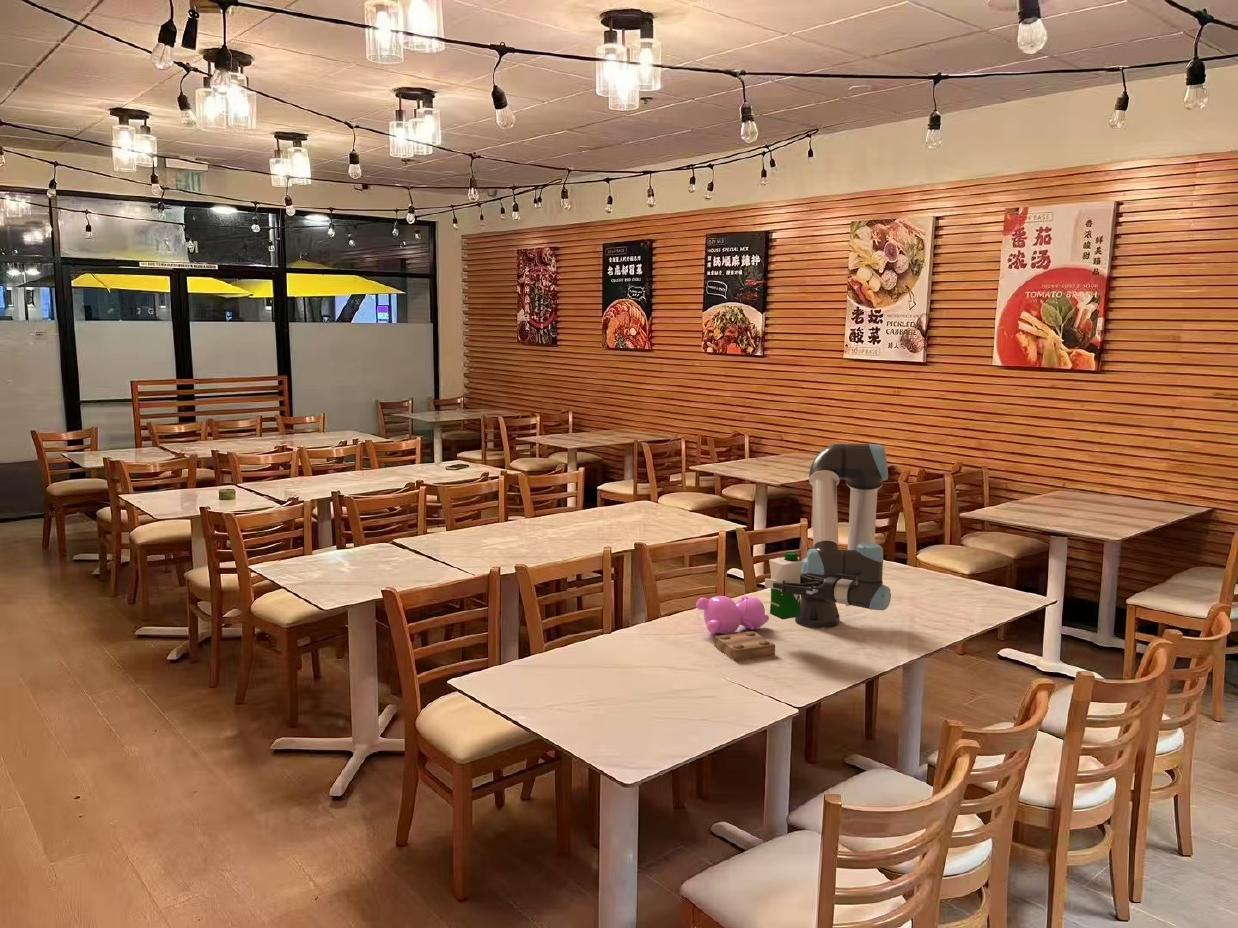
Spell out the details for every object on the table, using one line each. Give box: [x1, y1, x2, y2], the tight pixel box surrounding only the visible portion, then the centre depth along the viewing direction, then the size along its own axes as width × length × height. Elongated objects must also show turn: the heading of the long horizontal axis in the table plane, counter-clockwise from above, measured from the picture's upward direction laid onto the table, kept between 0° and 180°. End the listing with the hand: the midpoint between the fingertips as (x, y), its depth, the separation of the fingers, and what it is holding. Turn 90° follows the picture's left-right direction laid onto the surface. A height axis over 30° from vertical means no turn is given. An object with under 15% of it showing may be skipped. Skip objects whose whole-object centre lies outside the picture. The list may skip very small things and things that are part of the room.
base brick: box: [713, 630, 776, 662], centre depth 285 cm, size 14×14×4 cm
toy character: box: [695, 595, 770, 635], centre depth 304 cm, size 16×13×25 cm
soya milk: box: [768, 551, 803, 621], centre depth 287 cm, size 9×9×20 cm
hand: (772, 579), depth 290 cm, fingers closed on soya milk, 9 cm apart
